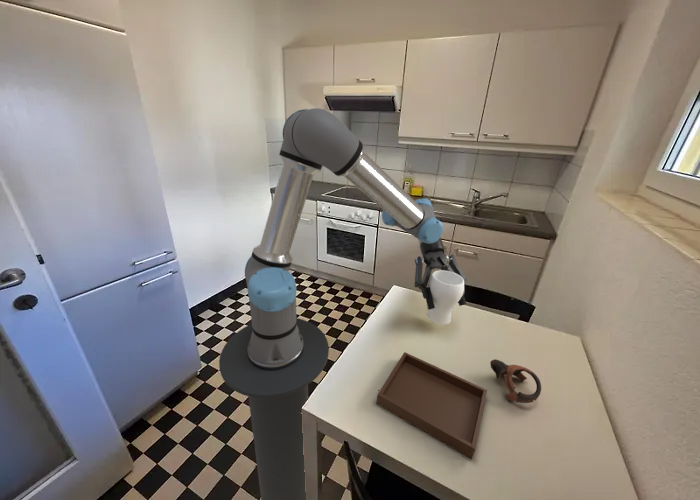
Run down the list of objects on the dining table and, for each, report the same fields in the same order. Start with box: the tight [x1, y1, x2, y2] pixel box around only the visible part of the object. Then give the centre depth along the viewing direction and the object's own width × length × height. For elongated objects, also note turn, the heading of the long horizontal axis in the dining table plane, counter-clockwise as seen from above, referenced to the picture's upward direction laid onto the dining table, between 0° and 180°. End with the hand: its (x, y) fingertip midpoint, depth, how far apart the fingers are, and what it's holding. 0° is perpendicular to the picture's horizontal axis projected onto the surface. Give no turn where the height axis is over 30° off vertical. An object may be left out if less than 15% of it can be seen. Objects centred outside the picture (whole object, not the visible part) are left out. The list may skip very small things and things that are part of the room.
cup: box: [426, 269, 465, 325], centre depth 89 cm, size 11×11×15 cm
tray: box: [375, 351, 488, 460], centre depth 67 cm, size 22×17×3 cm
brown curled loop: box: [490, 358, 542, 404], centre depth 71 cm, size 12×10×8 cm
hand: (447, 306), depth 87 cm, fingers closed on cup, 11 cm apart
